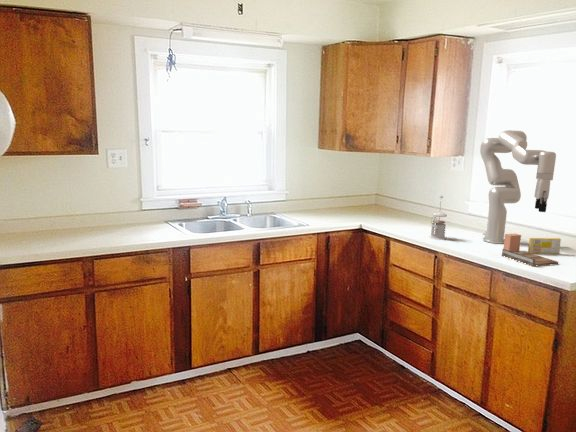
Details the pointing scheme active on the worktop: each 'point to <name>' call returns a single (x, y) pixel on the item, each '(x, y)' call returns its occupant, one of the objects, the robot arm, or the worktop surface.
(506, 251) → the rail
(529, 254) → the shelf board
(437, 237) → the french press
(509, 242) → the tea box
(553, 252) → the candy box
